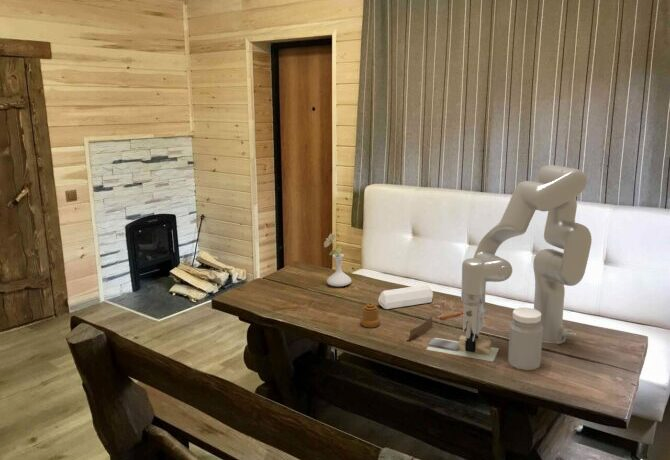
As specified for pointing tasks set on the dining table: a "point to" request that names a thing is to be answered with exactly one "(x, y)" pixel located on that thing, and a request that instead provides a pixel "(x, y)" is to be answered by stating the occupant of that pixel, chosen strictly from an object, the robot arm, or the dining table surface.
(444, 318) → the axe
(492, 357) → the board
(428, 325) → the wood plank
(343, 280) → the flower in vase
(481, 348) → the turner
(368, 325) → the ornamental finial
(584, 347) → the dining table surface
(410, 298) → the crystal
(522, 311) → the jar
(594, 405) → the dining table surface
